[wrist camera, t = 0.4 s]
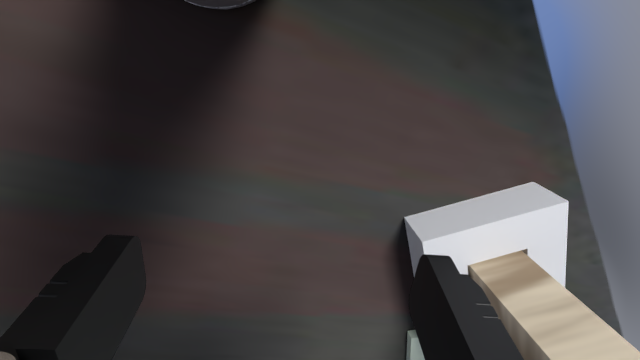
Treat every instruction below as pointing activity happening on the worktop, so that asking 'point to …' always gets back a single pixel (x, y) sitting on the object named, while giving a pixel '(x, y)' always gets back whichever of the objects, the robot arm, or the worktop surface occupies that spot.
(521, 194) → the white square stand
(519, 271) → the plug
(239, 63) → the worktop surface
